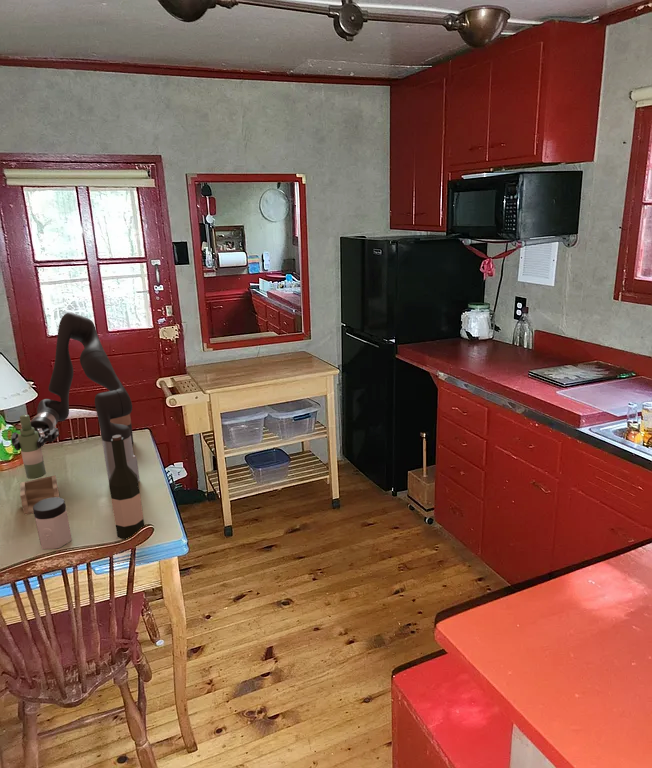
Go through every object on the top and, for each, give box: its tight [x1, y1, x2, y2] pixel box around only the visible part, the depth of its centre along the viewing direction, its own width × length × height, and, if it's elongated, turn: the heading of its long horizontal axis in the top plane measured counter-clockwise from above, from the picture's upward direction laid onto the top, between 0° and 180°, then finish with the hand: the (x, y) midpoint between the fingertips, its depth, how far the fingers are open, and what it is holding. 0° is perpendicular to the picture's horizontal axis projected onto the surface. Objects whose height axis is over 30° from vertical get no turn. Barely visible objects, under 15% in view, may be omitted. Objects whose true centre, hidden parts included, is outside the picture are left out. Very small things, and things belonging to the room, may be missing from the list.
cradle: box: [19, 475, 60, 516], centre depth 183 cm, size 10×10×7 cm
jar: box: [33, 496, 73, 550], centre depth 161 cm, size 9×8×12 cm
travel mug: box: [110, 413, 134, 444], centre depth 227 cm, size 8×8×20 cm
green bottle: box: [18, 414, 47, 480], centre depth 178 cm, size 6×6×20 cm
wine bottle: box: [108, 435, 145, 540], centre depth 162 cm, size 8×8×30 cm
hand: (27, 446), depth 176 cm, fingers closed on green bottle, 5 cm apart
